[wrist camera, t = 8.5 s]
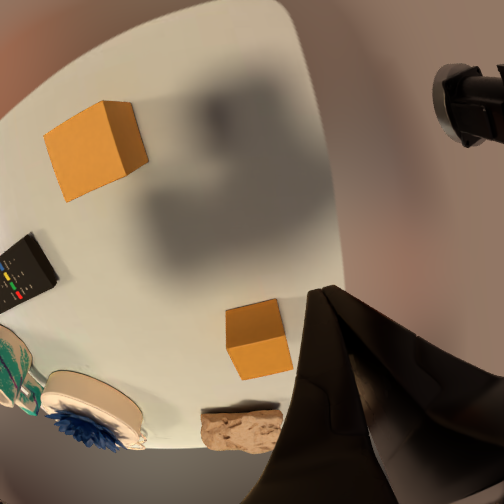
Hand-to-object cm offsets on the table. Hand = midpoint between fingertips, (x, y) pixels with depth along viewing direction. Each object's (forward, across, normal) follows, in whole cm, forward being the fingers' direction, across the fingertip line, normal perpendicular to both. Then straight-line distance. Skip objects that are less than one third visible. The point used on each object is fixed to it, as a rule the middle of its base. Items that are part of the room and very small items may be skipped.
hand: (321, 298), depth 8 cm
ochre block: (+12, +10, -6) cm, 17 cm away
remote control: (+12, +32, +1) cm, 34 cm away
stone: (+12, +9, +30) cm, 33 cm away
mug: (+12, +38, +12) cm, 42 cm away
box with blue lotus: (+12, +30, +25) cm, 41 cm away
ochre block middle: (+12, +3, +12) cm, 17 cm away
